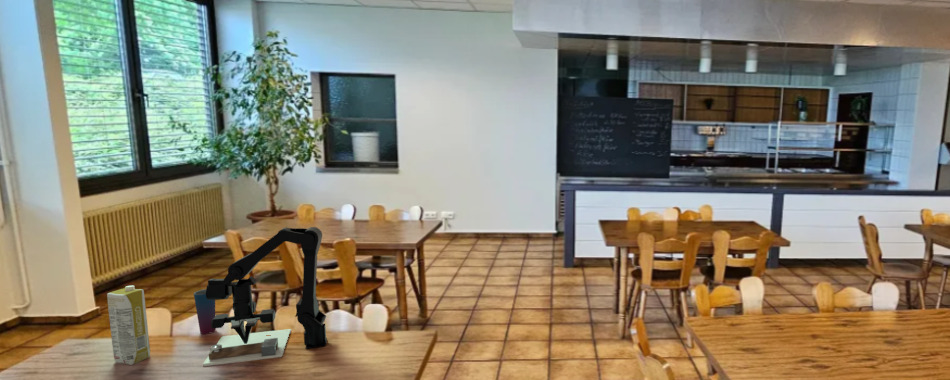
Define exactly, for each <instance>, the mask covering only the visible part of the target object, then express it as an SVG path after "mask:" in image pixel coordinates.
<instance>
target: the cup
mask: <svg viewBox="0 0 950 380" xmlns="http://www.w3.org/2000/svg"><path fill="white" fill-rule="evenodd" d="M205 292H206V288H204V289H200V290H197V291H195V292H193V297H194V303H195V309H196V310H195V311H196V315H197V321H198V328H199V333H200V334H201V335H207V334H211V333H214V332H216V329H217V328H214V329H212V328H211V321H212V320H213V318H214V317H215V316H216V300H207V298H206V293H205Z"/></svg>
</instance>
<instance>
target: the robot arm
mask: <svg viewBox="0 0 950 380" xmlns="http://www.w3.org/2000/svg"><path fill="white" fill-rule="evenodd" d="M322 239H323V232H322V230H321V229H320V228H318V227H316V226H310V227H308V228H303V227H302V228H301V227H297V228H296V227H294V228H292V227H283V228H281V229H280V230H278V231H277V233H276V234H275V235H273V236H272V237H270V238H269V239H268V240H266V242H263V244H261V246H259V247H258V248H257V249H255V250H253V251H252V252H251V253H249V254H246V255H245V256H243V257H241V258H239V259H237V260H236V261H234V262H232V263H231V264H230V265H229V266H228V267H227V274H226V276H225V277H224V278H210V279H208V280H207V285H206V288H205V289H206V292H205V293H206V298H207V300H215V301H218V300H228V299H229V297H231V296H232V310H233V316H229V314H228V313H221V314H215V317H214V318H213V320H212V321H211V328H212V329H214V328H216V329H221V328H223V327H224V325H225V324H229V323H230V324H231V327H230V329H231V330H234V331H235V333H237V335H239V336H240V337H241V339H242V341H243V342H244V344H247V343H248V339H249V335H250V333H252V332H251V331H252V328H254V327H256V325H257V323H258V321H259V322H260V323H262V324H267V323H268V324H269V323H273V322H274V321H275V319H276V310H275V309H274V308H268V309H262V310H261V312H260V313H255V312H256V310H257V309H256V305H257V303H256V301H253V295H252V286H254V285H256V283H258V280H257V278H255V277H254V276H252V275H251V276H249V277H248V278H245V277H246V276H248V275H249V274H250V273H251V272H252V271H253V270H254V269H255V268H256V266H257V265H258V264H259V263H260V262H261V260H263V259H265V257H267V256H268V255H269V254H271V253H272V252H273V251H274V250H275V249H277V248H278V247H280V245H282V244H283V243H284V242H287V243H293V244H296V245H300V246H301V250H302V251H301V252H302V254H303V275H302V278H303V279H302V297H301V298H300V299H299V300H298V301H297V303H296V304H295V308H296V313H295V315H294V317H296V319H297V322H298V323H299V324H301V325H302V327H303V329H304V332H303V340H304V342H303V343H304V345H305V349H313V348H314V349H315V348H322V347H326V346H327V343H328V337H327V330H326V323H325V322H326V318H327V315H326V314H325V313H323V312H322V310H320V309H319V308H320V307H319V300H318V298H317V295H316V294H317V293H316V292H317V273H318V270H317V269H318V254H319V250H320V247H321V243H322ZM245 322H246V324H245Z"/></svg>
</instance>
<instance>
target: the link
mask: <svg viewBox="0 0 950 380" xmlns="http://www.w3.org/2000/svg"><path fill="white" fill-rule="evenodd" d="M262 344H263V342H261V343H254V344H246V345H239V346H232V347H224V348H221V349H219V351H220V352H214V351H213V350H211V349H210V351H209V353H208V356H209V360H210V359H217V358H224V357H231V356H239V355H246V354H253V353H260V352H261V347H262ZM277 348H278V341H277V343H276V350H277Z"/></svg>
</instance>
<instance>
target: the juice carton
mask: <svg viewBox="0 0 950 380" xmlns="http://www.w3.org/2000/svg"><path fill="white" fill-rule="evenodd" d="M106 294H107V296H106V297H107V311H108V318H109V319H108V320H109V325H110V326H109V327H110V334H111V335H110V336H111V345H112V352H113V360H114V362H115V363H118V364H119V363H120V364H124V365H129V366H133V365H135V364H137V363H139V362H141V361H145V360H146V359H149V358H150V357H151V348H150V347H151V345H150V336H149V326H148V317H147V308H146V299H145V291H144V289H140V288H139V289H136V288H135V285H127V286H125V287H123V288H120V289H117V290H113V291H111V292H108V293H106Z"/></svg>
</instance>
